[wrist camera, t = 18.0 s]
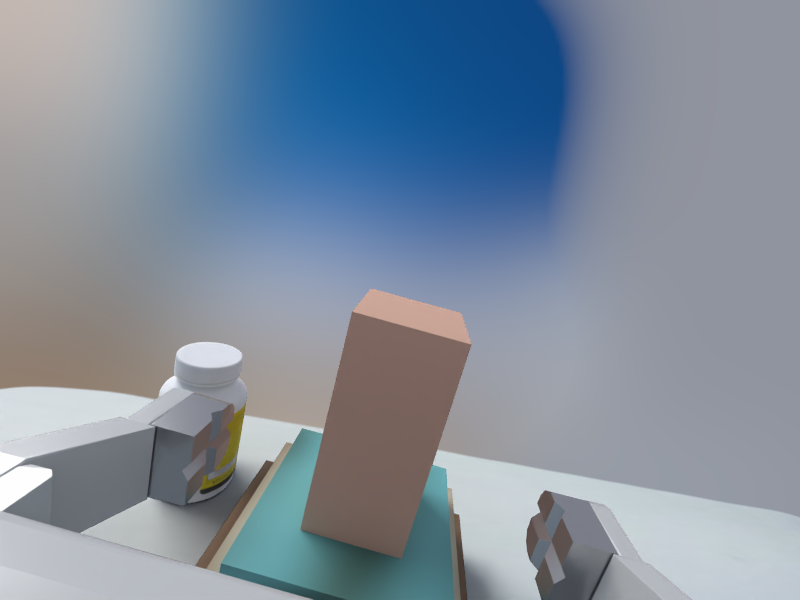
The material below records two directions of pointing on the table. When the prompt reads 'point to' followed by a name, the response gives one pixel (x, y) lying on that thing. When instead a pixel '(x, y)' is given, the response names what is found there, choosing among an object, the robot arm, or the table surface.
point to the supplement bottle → (218, 378)
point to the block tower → (334, 541)
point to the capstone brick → (385, 421)
